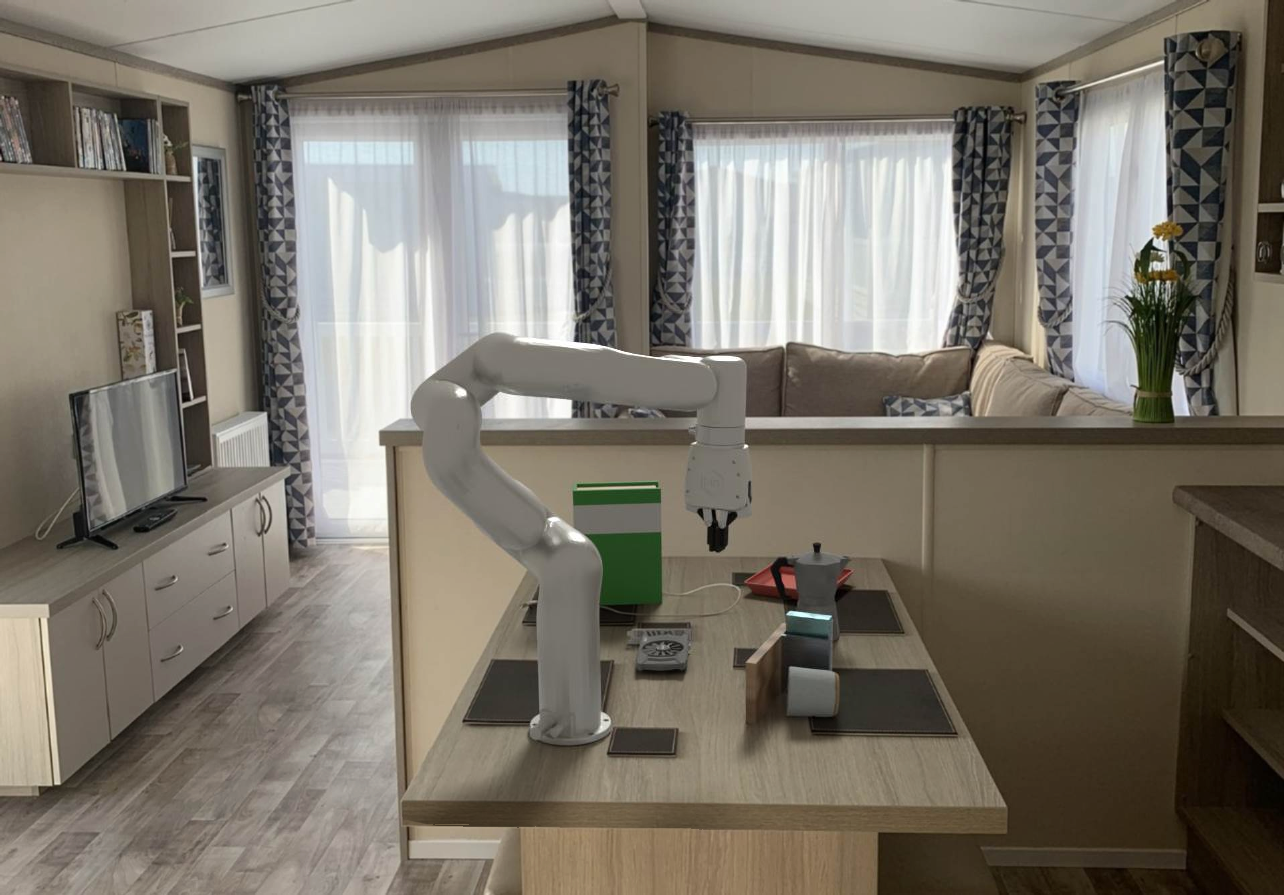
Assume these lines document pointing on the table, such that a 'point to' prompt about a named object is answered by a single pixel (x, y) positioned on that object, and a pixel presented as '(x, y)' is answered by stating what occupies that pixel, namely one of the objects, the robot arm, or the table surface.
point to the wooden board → (764, 677)
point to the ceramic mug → (812, 692)
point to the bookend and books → (806, 643)
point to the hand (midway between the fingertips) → (717, 550)
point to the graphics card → (661, 649)
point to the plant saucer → (767, 586)
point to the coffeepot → (813, 581)
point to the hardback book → (623, 537)
